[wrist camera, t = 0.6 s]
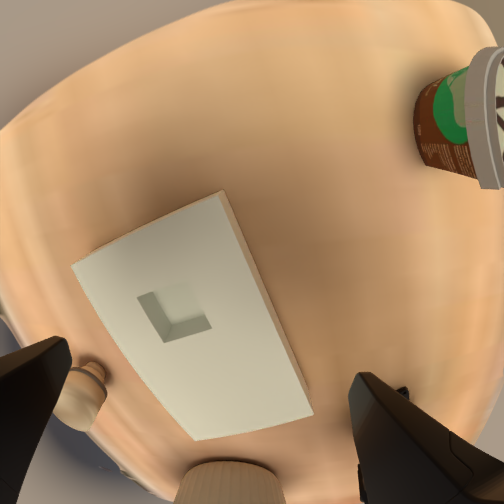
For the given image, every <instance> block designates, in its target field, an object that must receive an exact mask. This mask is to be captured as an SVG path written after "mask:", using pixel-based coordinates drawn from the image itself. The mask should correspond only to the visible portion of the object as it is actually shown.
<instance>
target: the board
mask: <svg viewBox="0 0 504 504" xmlns="http://www.w3.org/2000/svg"><path fill="white" fill-rule="evenodd" d="M71 267H72V269H73V271H74V273H75V275H76V277H77V279H78V281H79V283H80V285H81V286H82V288H83V290H84V292H85V294H86V295H87V297H88V299H89V301H90V302H91V304H92V306H93V308H94V309H95V311H96V313H97V314H98V316H99V318H100V319H101V321H102V322H103V324H104V326H105V327H106V329H107V330H108V332H109V333H110V335H111V337H112V338H113V340H114V341H115V343H116V344H117V346H118V347H119V348H120V350H121V351H122V353H123V354H124V356H125V357H126V359H127V360H128V361H129V363H130V364H131V366H132V367H133V368H134V370H135V371H136V372H137V374H138V375H139V376H140V378H141V379H142V380H143V382H144V383H145V384H146V385H147V387H148V388H149V389H150V390H151V392H152V393H153V394H154V395H155V397H156V398H157V399H158V400H159V402H160V403H161V404H162V405H163V406H164V407H165V409H166V410H167V411H168V412H169V413H170V414H171V416H172V417H173V418H174V419H175V420H176V421H177V422H178V423H179V425H180V426H181V427H182V428H183V429H184V430H185V431H186V432H187V433H188V434H189V435H190V436H191V437H192V439H193V440H194V441H198V440H206V439H212V438H219V437H225V436H230V435H236V434H241V433H246V432H251V431H255V430H260V429H264V428H268V427H272V426H276V425H280V424H284V423H288V422H291V421H295V420H298V419H302V418H305V417H308V416H312V415H314V412H313V407H312V403H311V398H310V394H309V389H308V387H307V384H306V382H305V380H304V377H303V375H302V373H301V370H300V368H299V366H298V363H297V361H296V359H295V356H294V354H293V352H292V349H291V347H290V345H289V342H288V340H287V338H286V335H285V333H284V330H283V328H282V326H281V323H280V321H279V319H278V316H277V314H276V312H275V309H274V307H273V305H272V302H271V300H270V298H269V295H268V293H267V290H266V288H265V286H264V283H263V281H262V279H261V276H260V274H259V272H258V269H257V267H256V265H255V262H254V260H253V257H252V255H251V253H250V250H249V248H248V246H247V243H246V241H245V239H244V236H243V234H242V232H241V229H240V227H239V224H238V222H237V220H236V217H235V215H234V213H233V210H232V208H231V206H230V203H229V201H228V198H227V196H226V194H225V191H224V189H223V190H221V191H219V192H216V193H214V194H212V195H209V196H207V197H205V198H202V199H200V200H198V201H195V202H193V203H191V204H189V205H186V206H184V207H182V208H180V209H177V210H175V211H173V212H171V213H169V214H166V215H164V216H162V217H160V218H158V219H156V220H154V221H151V222H149V223H147V224H145V225H143V226H141V227H139V228H137V229H135V230H133V231H131V232H129V233H127V234H125V235H123V236H121V237H119V238H117V239H115V240H113V241H111V242H109V243H107V244H105V245H103V246H101V247H99V248H97V249H95V250H94V251H92V252H90V253H89V254H87V255H86V256H84V257H83V258H81V259H80V260H78V261H77V262H75V263H74V264H72V265H71Z"/></svg>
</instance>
